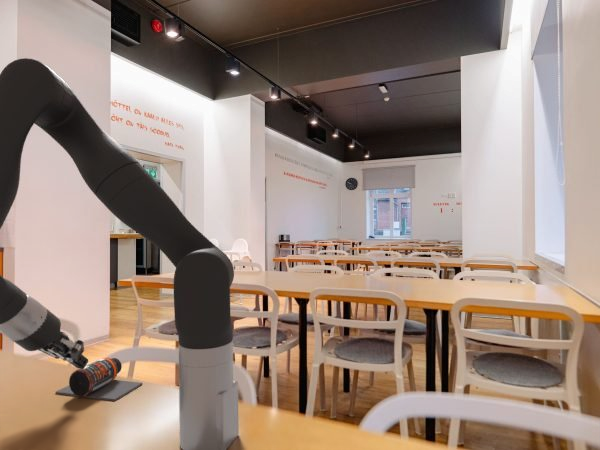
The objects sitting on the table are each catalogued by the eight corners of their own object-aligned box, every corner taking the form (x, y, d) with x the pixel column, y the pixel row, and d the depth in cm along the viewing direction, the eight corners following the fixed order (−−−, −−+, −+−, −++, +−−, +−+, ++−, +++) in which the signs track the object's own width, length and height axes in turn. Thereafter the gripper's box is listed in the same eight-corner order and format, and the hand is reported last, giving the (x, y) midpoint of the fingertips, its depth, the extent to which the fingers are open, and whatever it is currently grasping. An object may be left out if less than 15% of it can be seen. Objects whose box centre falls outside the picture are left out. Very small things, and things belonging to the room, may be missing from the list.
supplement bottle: (82, 365, 85) (117, 348, 96) (62, 378, 86) (100, 360, 97) (95, 390, 84) (129, 370, 95) (75, 402, 85) (111, 381, 96)
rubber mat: (142, 384, 93) (142, 382, 93) (114, 401, 84) (114, 399, 84) (87, 378, 97) (87, 376, 97) (55, 393, 88) (55, 391, 88)
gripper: (64, 307, 74) (116, 351, 86) (17, 303, 79) (72, 346, 90) (37, 343, 69) (96, 385, 81) (-12, 336, 74) (50, 377, 85)
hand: (83, 364), depth 86 cm, fingers closed
